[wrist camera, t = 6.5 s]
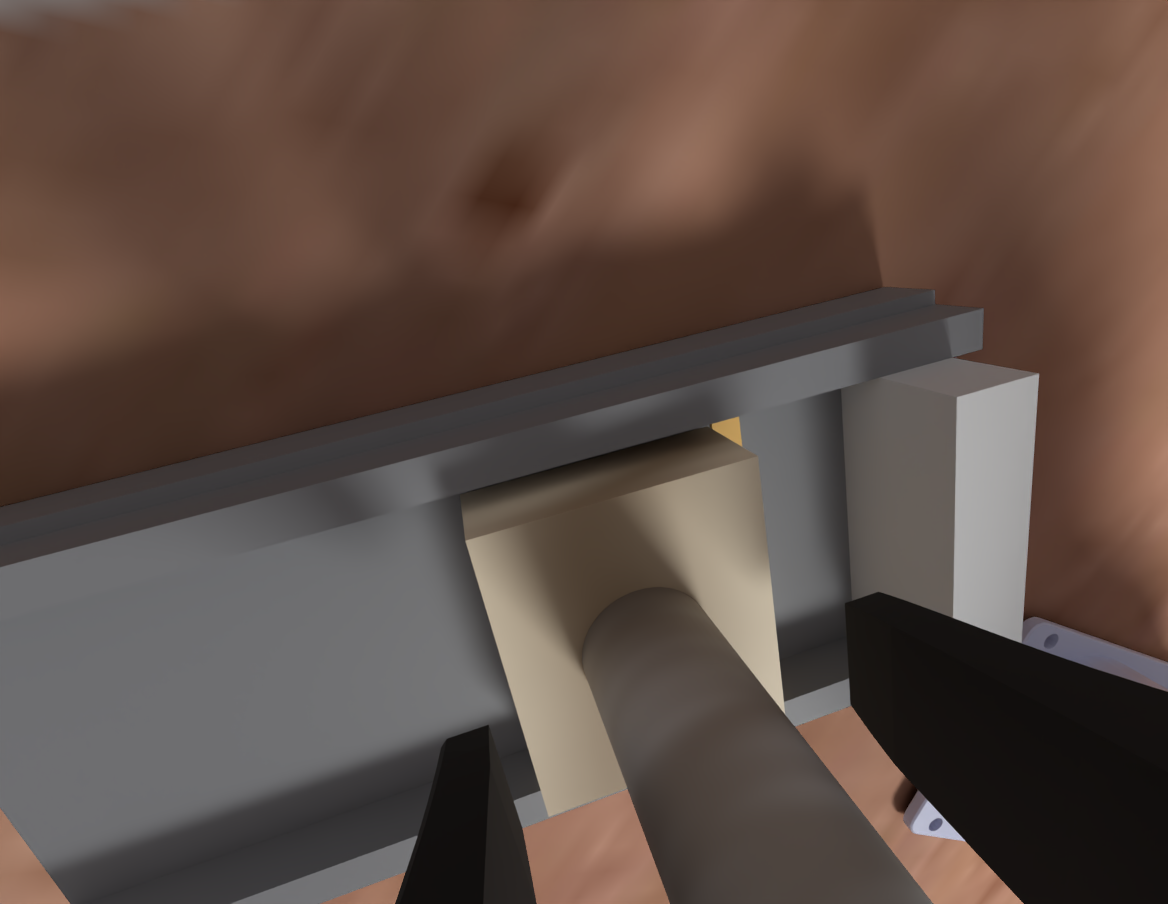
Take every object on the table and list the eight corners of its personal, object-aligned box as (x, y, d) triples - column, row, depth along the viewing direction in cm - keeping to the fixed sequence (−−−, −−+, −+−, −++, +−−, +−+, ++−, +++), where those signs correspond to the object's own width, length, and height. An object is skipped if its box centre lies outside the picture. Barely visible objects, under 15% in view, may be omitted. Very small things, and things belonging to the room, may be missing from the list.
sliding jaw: (707, 425, 12) (1160, 695, 4) (739, 666, 14) (1088, 1125, 7) (460, 494, 11) (514, 957, 4) (532, 739, 13) (661, 1352, 6)
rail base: (884, 287, 14) (1079, 297, 10) (892, 609, 17) (1043, 723, 13) (-95, 530, 11) (-435, 702, 6) (133, 874, 14) (2, 1140, 10)
